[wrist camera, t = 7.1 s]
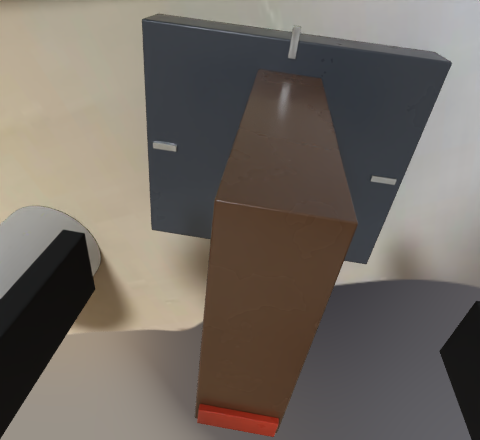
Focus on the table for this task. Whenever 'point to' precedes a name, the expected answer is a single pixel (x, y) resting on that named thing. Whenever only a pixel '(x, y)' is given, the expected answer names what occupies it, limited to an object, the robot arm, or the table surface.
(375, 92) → the dark grey square slab
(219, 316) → the brown red-tipped block
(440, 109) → the table surface
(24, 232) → the cup
